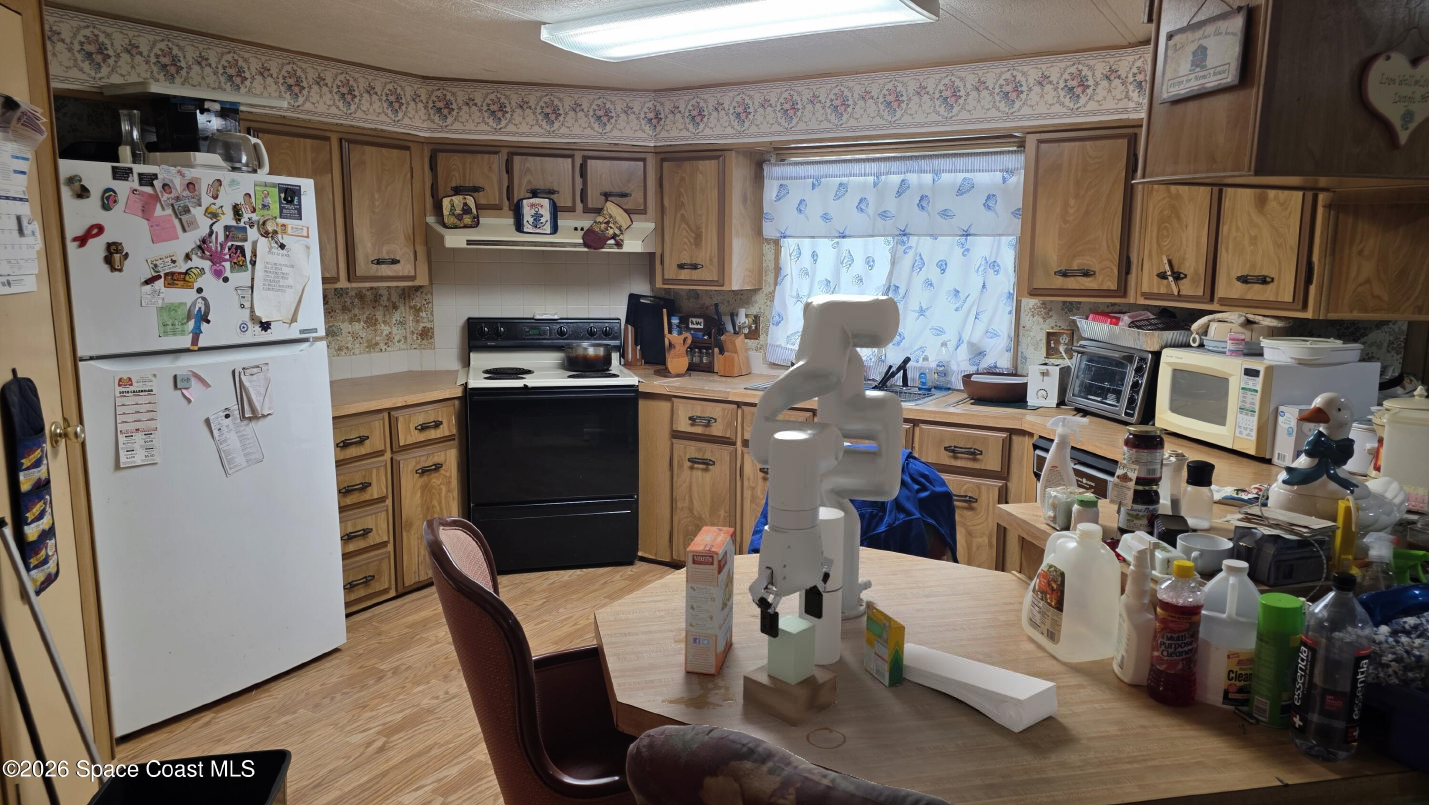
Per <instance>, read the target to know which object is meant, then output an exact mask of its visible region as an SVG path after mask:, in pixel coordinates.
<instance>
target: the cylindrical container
mask: <svg viewBox="0 0 1429 805" xmlns="http://www.w3.org/2000/svg"><path fill="white" fill-rule="evenodd" d="M819 522H820V524H821V530H822V537H823V550H824V556H825V557H828V558H830V559H833V566H832V569H831V572H829V573H830V578H829V580H828V582H827V583H826V585H825V586H826V591H825V592H824V593H822V594H823V617H822V618H821V619H817V618H814V617H812V616H809V615H807V614H805V612H804V606H805V589H804V590H802V591H799V592H798V618H801V619H804V620H806V621H809V622H812V623H815V624H816V627H815V661H814V665H818V666H819V665H820V666H824V665H825V666H826V665H831V664H835V663H836V662H838V661H840V659H841V658H840V657H841V632H842V629H841V628H842V619H841V606H842V572H843V539H844V512H842V511H840V510H838V509H834V508H827V507H820V513H819ZM808 589H809V588H808Z"/></svg>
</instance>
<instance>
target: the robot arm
mask: <svg viewBox="0 0 1429 805" xmlns="http://www.w3.org/2000/svg"><path fill="white" fill-rule="evenodd" d="M900 317H901V314H900V309H899V306H898V303H897V301H896V300H895V299H894V297H892V296H889V295H888V296H886V295H852V294H825V295H818V296H817V295H816V296H813V297H810V298H808V299H807V300H806V301H805V302H804V305H803V307H802V318H803V324H802V329H801V333H800V337H799V342H798V347H797V352H796V355H795V360H794V365H793V366H792V367H790V368H789V369H788V370H786V371H785V372H783V373H782V374H781V375H780V376H778V377H777V378H776V379H774V381H773V382H772V383H771V384H770V385H769V386H768V387H767V388H766V389H765V390H764V391H763V393H762V394H761V396H760V398H759V399H758V401H757V403H756V404H757V405H756V408H755V411H754V415H753V416H754V417H753V419H752V423H751V427H750V428H751V429H750V432H749V440H748V449H749V450H748V451H749V454H750V458H751V459H752V461H753V462H754V464H756V465H758V466H760V467H764V468H768V488H767V489H768V492H767V493H768V494H767V496H768V497H767V499H768V502H767V525H765V526H764V528H763V532H762V537H761V541H760V548H759V555H758V556H759V557H758V566H757V567H758V569H757V577H756V578H755V579H754V581H752V583H750V584H749V586H748V592H749V594H750V596H751V600H752V602H753V604H755V605H756V608H757V609H759V610H760V613H759V615H760V616H759V618H760V619H759V620H760V624H759V626H760V627H759V629H760V630H759V631H760V632H761V634H763V635H765V636H767V637H768V636H770V637H772V638H777V637H778V636H779V619H780V614H779V611H777V608H778V607H779V605H780V603H781V601H782V599H783V598H786V597H789V596H791V595H794V594H796V593H799V591H802V590H804V589H805V606H804V612H805V614H807V615H809V616H812V617H814V618H817V619H821V618H822V617H823V594H822V593H824V592H825V591H826V586H825V585H826V583H827V582H828V580H829V578H830V573H829V572H831V569H832V566H833V559H830V558H828V557H825V556H824V550H823V537H822V530H821V524H820V522H819V513H820V507H827V508H834V509H838V510H840V511H842V512H844V539H843V572H842V606H841V620H849V619H855V618H857V617H859V616H862V615H863V614H864V613H865V612H866V611H867V602H866V601H865V599H863V598H862V597H861V594H862V593H863V592H864V591H866V590H869V589H871V588H872V586H873V584H872V581H871V580H870V579H869V578H865V579H863V580H861V581H860V580H859V579H860V578H859V577H860V574H859V572H860V547H861V546H860V545H861V519H860V517H859V514H858V511H857V509H856V508H855V506H854V505H853V504H852V503H851V501H850V500H862V501H863V500H864V501H873V502H874V501H876V502H878V501H879V502H888V501H892V500H894V499H895V498H896V497H897V495H898V494H899V491H900V487H901V481H902V464H903V463H902V458H903V442H904V441H903V440H904V438H903V435H904V410H903V405H902V401H901V398H899V396H898V395H897V394H895V393H893V392H890V391H886V390H867V389H866V388H865V369H866V368H865V361H864V359H863V357H862V355H861V354H860V352H859V351H858V349H885V348H887V347H888V346H889V345H890V344H891V343H892V342H893V341H894V340H895V339H896V337H897V335H898V332H899V329H900V322H901V318H900ZM816 398H817V401H816V402H817V403H816V404H817V406H816V421H806V420H793V419H791V420H790V419H778V418H779V417H780V416H781V414H783V413H784V412H786V411H787V410H789V409H790V408H792V407H794V406H796V405H799V404H802V403H805V402H808V401H811V400H814V399H816ZM845 441H857V442H869V443H871V442H872V443H873V444H875V445H876V449H875V448H860V447H859V448H858V447H854V446H853V447H851V446H850V447H849V446H845ZM808 588H809V589H808ZM775 589H776V590H775ZM770 596H773V597H772V599H771V601H769V599H770Z"/></svg>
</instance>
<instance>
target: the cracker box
mask: <svg viewBox="0 0 1429 805" xmlns="http://www.w3.org/2000/svg"><path fill="white" fill-rule="evenodd" d="M735 537H736V529H735V528H732V527H727V526H726V527H725V526H711V525H710V526H708V525H706V526H703V527H702V528H701V530H700V531H699V533H698V534H697V536H695V538H694V540H692V542H691V544H690V545H689V546H688V547H687V549H686V550H685V552H686V554H685V555H686V556H685V558H686V559H685V610H684V611H685V614H684V615H685V620H684V622H685V623H684V625H685V626H684V630H685V631H684V672H687V673H696V674H704V675H715V676H718V674H719V671H720V670H721V667H722V664H723V662H724V660H725V658H726V655H727V653H728V651H729V649H730V647H731V644H732V643H733V622H734V621H733V620H734V589H735V588H734V585H735V584H734V582H735V581H734V580H735V574H734V573H735V551H736V550H735V549H736V548H735V546H736V545H735V544H736V543H735V540H736V538H735Z"/></svg>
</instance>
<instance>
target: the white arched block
mask: <svg viewBox="0 0 1429 805" xmlns="http://www.w3.org/2000/svg"><path fill="white" fill-rule="evenodd" d="M904 677H905V678H904ZM903 678H904V679H907V680H908V681H912V682H914V683H917V684H920V685H923V686H925V687H929V688H931V689H934V690H938V691H940V692H943V693H946V694H948V695H950V696H952V697H955V698H956V699H959V700H961V701H962V702H964V703H966V704H968V705H970V706H972V707H973V708H975V709H977V710H979V712H981V713H983V714H984V715H986V716H987V717H989V718H990V719H991V720H992V721H994V722H996V723H997V724H1000V725H1001V726H1003V727H1005V728H1007V729H1009V730H1011V731H1012V732H1014V733H1019V732H1021V731H1023V730H1025V729H1027V728H1029V727H1031V726H1033V725H1035V724H1037V723H1038V722H1041V721H1042V720H1044V719H1046V718H1048V717H1050V716H1052V715H1054V714H1055V713H1056V711H1057V709H1058V707H1059V701H1058V697H1057V695H1056V694H1057V693H1056V691H1057V689H1058V688H1057V683H1056V682H1053V681H1048V680H1045V679H1041V678H1038V677H1034V676H1030V675H1028V674H1027V675H1026V674H1023V673H1019V672H1016V671H1011V670H1009V669H1005V668H1001V667H997V666H994V665H991V664H987V663H984V662H980V661H976V660H972V659H969V658H966V657H961V656H958V655H955V654H951V653H947V652H944V651H940V650H936V649H933V648H930V647H925V646H923V645H922V646H921V645H918V644H915V643H911V642H908V643H904V659H903Z"/></svg>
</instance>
